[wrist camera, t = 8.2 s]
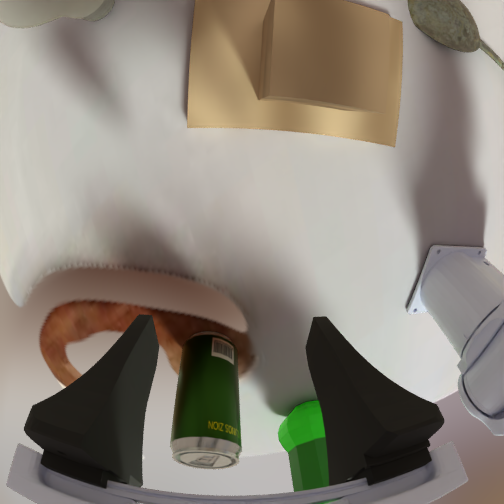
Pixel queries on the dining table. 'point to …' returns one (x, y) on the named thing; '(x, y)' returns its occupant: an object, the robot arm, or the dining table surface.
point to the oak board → (248, 75)
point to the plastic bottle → (306, 446)
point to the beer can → (207, 404)
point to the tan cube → (325, 55)
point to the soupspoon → (449, 25)
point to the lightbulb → (51, 11)
